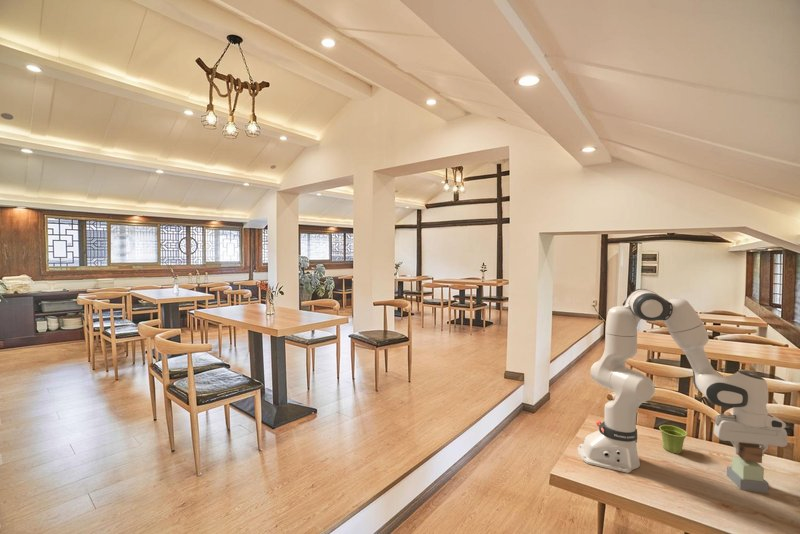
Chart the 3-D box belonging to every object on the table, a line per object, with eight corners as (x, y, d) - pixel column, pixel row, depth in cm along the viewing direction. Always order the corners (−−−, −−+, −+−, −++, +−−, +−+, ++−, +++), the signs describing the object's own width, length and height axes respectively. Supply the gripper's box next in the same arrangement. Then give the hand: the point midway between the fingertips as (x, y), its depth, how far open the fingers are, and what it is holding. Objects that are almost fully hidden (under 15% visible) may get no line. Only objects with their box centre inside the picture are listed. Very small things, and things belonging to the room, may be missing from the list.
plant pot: (691, 457, 147) (692, 436, 146) (666, 455, 148) (666, 434, 148) (678, 444, 156) (679, 425, 155) (654, 442, 158) (655, 424, 157)
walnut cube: (735, 453, 132) (736, 440, 132) (752, 455, 131) (752, 442, 130) (744, 461, 127) (745, 447, 127) (761, 463, 126) (762, 449, 126)
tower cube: (743, 479, 127) (743, 465, 126) (731, 469, 133) (732, 456, 132) (763, 481, 125) (763, 467, 125) (750, 471, 131) (751, 458, 131)
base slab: (740, 490, 127) (740, 479, 127) (726, 476, 135) (727, 466, 134) (768, 494, 125) (768, 483, 124) (752, 479, 132) (752, 469, 132)
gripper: (720, 417, 128) (719, 454, 129) (791, 424, 122) (790, 462, 123) (710, 409, 134) (709, 445, 135) (778, 416, 128) (776, 452, 129)
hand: (748, 453), depth 129 cm, fingers closed on walnut cube, 5 cm apart
